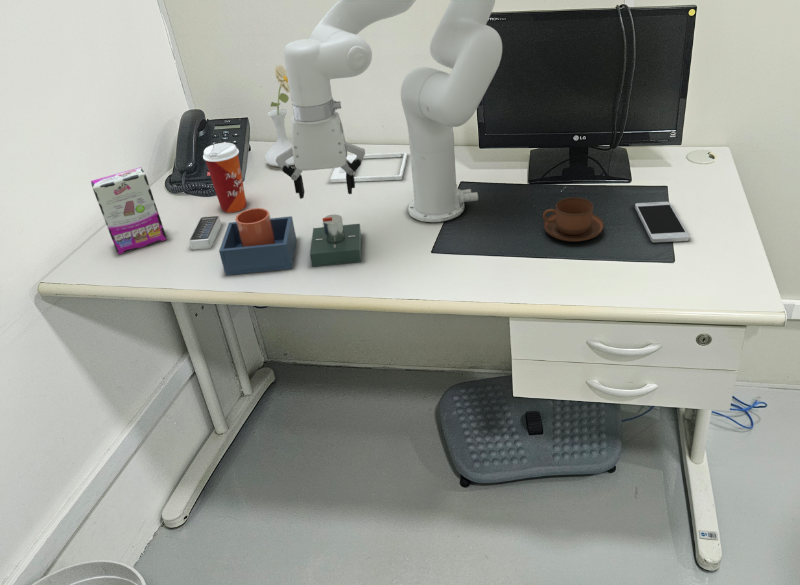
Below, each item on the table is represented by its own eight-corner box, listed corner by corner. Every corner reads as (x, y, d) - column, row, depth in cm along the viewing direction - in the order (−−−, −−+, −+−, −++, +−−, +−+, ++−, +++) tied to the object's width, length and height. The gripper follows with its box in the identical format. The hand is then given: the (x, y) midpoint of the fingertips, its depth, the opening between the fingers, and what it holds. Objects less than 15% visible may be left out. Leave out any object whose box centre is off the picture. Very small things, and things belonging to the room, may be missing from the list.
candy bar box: (163, 231, 163) (142, 165, 154) (167, 240, 160) (146, 173, 150) (113, 246, 160) (89, 179, 150) (117, 255, 156) (92, 187, 147)
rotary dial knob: (345, 232, 149) (342, 212, 146) (344, 241, 145) (341, 221, 143) (326, 234, 149) (322, 214, 146) (325, 243, 145) (321, 223, 143)
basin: (296, 239, 154) (291, 216, 151) (291, 268, 144) (286, 244, 141) (234, 245, 155) (228, 222, 151) (225, 275, 145) (218, 251, 141)
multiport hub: (191, 249, 155) (188, 240, 154) (203, 225, 164) (200, 216, 163) (210, 248, 155) (208, 239, 153) (221, 224, 164) (219, 215, 162)
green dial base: (361, 235, 153) (359, 222, 151) (360, 262, 144) (359, 248, 142) (315, 240, 153) (313, 227, 152) (312, 266, 144) (309, 253, 142)
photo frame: (339, 154, 188) (407, 151, 186) (340, 158, 189) (407, 155, 187) (329, 178, 176) (401, 175, 174) (330, 182, 177) (401, 179, 175)
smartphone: (652, 242, 140) (652, 238, 139) (634, 206, 152) (634, 202, 152) (689, 241, 139) (690, 236, 138) (668, 204, 152) (668, 200, 151)
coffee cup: (243, 215, 167) (229, 155, 158) (211, 214, 168) (195, 155, 160) (256, 199, 173) (243, 141, 165) (225, 198, 175) (210, 141, 167)
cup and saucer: (554, 251, 141) (555, 223, 137) (535, 223, 151) (536, 197, 147) (612, 241, 142) (615, 214, 138) (590, 214, 152) (591, 188, 148)
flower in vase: (289, 173, 184) (270, 77, 170) (257, 166, 190) (236, 73, 176) (320, 154, 193) (305, 62, 179) (288, 148, 199) (271, 58, 185)
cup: (278, 244, 152) (270, 206, 147) (275, 260, 146) (266, 222, 141) (247, 247, 152) (238, 209, 147) (242, 263, 146) (233, 225, 141)
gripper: (359, 99, 135) (369, 181, 144) (269, 107, 135) (285, 189, 144) (359, 112, 128) (369, 197, 138) (264, 121, 129) (281, 205, 138)
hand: (326, 193), depth 141 cm, fingers open, 9 cm apart
